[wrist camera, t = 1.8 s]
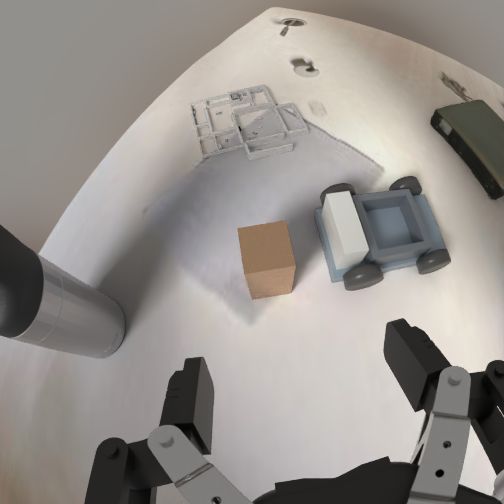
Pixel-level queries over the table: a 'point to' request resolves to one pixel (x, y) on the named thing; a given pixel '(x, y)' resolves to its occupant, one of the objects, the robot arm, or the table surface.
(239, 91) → the floor plan model
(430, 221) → the chassis
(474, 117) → the network switch
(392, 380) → the table surface
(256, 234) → the brown rectangular block
